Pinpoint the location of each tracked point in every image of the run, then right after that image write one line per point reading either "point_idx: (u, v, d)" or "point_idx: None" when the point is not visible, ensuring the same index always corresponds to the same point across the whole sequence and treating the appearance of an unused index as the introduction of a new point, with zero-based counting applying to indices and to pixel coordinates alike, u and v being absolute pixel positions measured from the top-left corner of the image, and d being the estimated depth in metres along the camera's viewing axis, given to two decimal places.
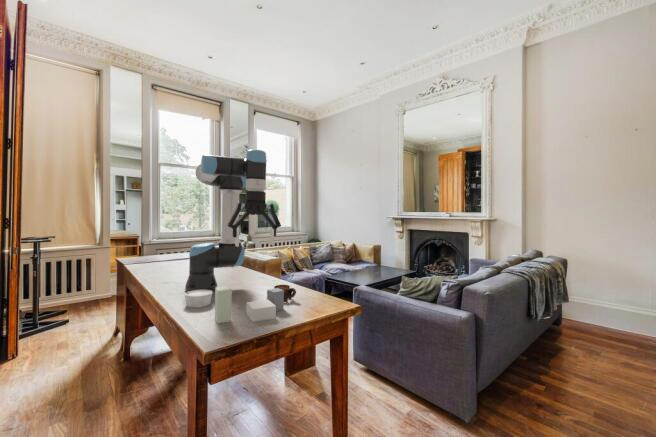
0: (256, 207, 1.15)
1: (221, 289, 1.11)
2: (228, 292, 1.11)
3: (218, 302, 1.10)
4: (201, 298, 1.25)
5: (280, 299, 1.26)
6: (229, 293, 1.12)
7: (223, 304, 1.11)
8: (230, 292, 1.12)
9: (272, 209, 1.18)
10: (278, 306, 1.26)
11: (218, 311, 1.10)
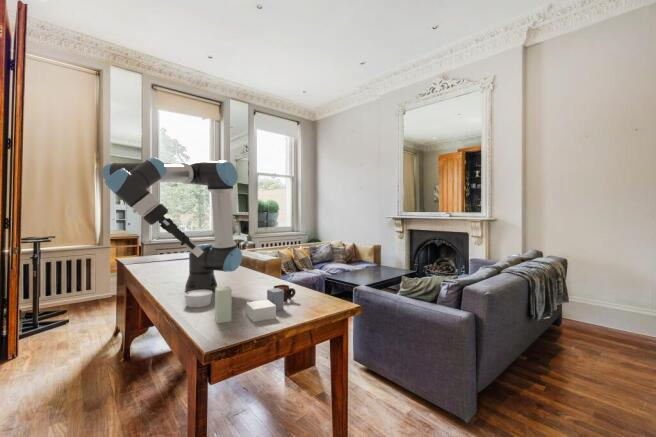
0: None
1: (221, 289, 1.11)
2: (228, 292, 1.11)
3: (218, 302, 1.10)
4: (201, 298, 1.25)
5: (280, 299, 1.26)
6: (229, 293, 1.12)
7: (223, 304, 1.11)
8: (230, 292, 1.12)
9: (166, 228, 0.99)
10: (278, 306, 1.26)
11: (218, 311, 1.10)
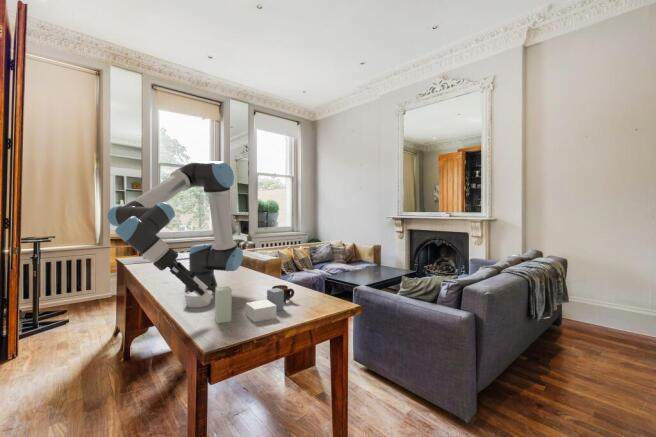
0: None
1: (221, 289, 1.11)
2: (228, 292, 1.11)
3: (218, 302, 1.10)
4: (201, 298, 1.25)
5: (280, 299, 1.26)
6: (229, 293, 1.12)
7: (223, 304, 1.11)
8: (230, 292, 1.12)
9: None
10: (278, 306, 1.26)
11: (218, 311, 1.10)
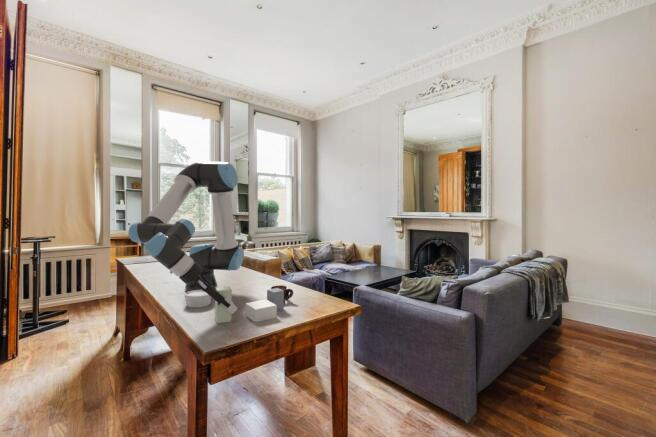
0: None
1: (221, 289, 1.11)
2: (228, 292, 1.11)
3: None
4: (201, 298, 1.25)
5: (280, 299, 1.26)
6: (229, 293, 1.12)
7: None
8: (230, 292, 1.12)
9: None
10: (278, 306, 1.26)
11: (218, 311, 1.10)
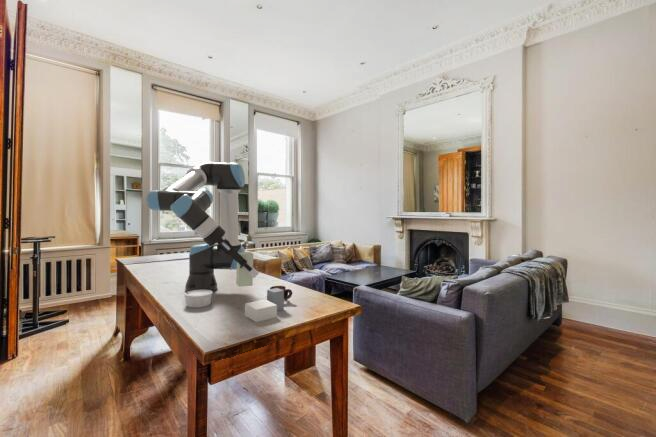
0: (219, 245, 1.09)
1: (243, 253, 1.13)
2: (250, 256, 1.12)
3: (240, 266, 1.11)
4: (201, 298, 1.25)
5: (280, 299, 1.26)
6: (251, 258, 1.13)
7: None
8: (252, 256, 1.13)
9: (227, 252, 1.06)
10: (278, 306, 1.26)
11: (240, 275, 1.11)
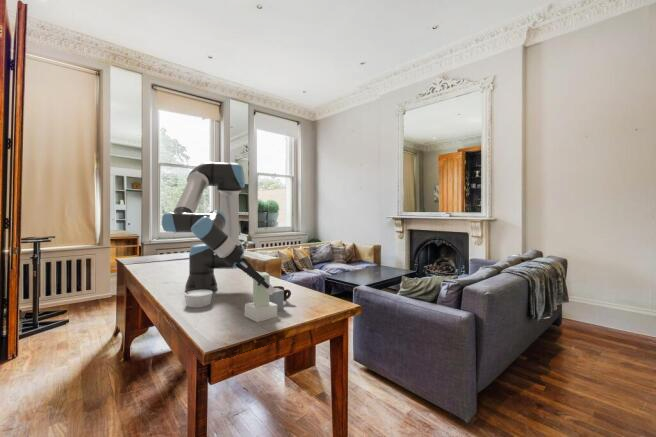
0: (238, 264, 1.13)
1: (260, 274, 1.16)
2: (266, 277, 1.16)
3: (258, 287, 1.15)
4: (201, 298, 1.25)
5: (280, 299, 1.26)
6: (267, 279, 1.16)
7: (262, 289, 1.15)
8: (268, 277, 1.16)
9: (245, 270, 1.08)
10: (278, 306, 1.26)
11: (257, 295, 1.15)
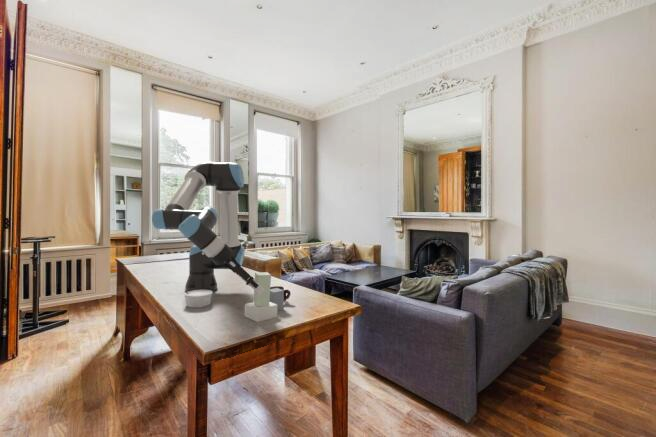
0: (227, 264, 1.11)
1: (261, 274, 1.17)
2: (268, 277, 1.16)
3: None
4: (201, 298, 1.25)
5: (280, 299, 1.26)
6: (269, 279, 1.17)
7: None
8: (269, 277, 1.17)
9: (232, 269, 1.06)
10: (278, 306, 1.26)
11: (258, 295, 1.15)
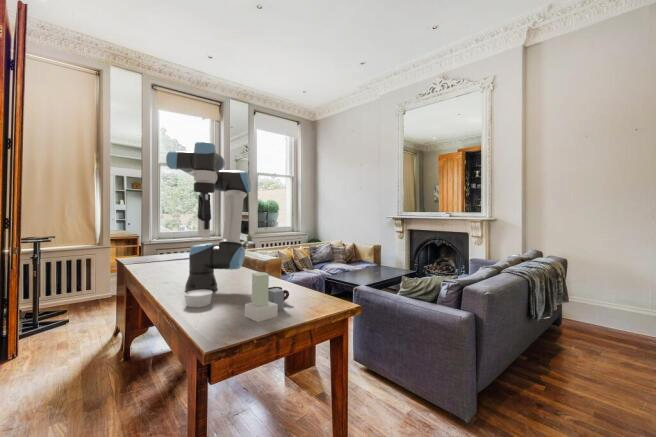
0: None
1: (259, 274, 1.17)
2: (265, 277, 1.17)
3: (257, 286, 1.15)
4: (201, 297, 1.25)
5: (280, 299, 1.26)
6: (266, 278, 1.17)
7: (261, 288, 1.16)
8: (267, 277, 1.17)
9: (203, 200, 1.11)
10: (278, 306, 1.26)
11: (256, 295, 1.15)
